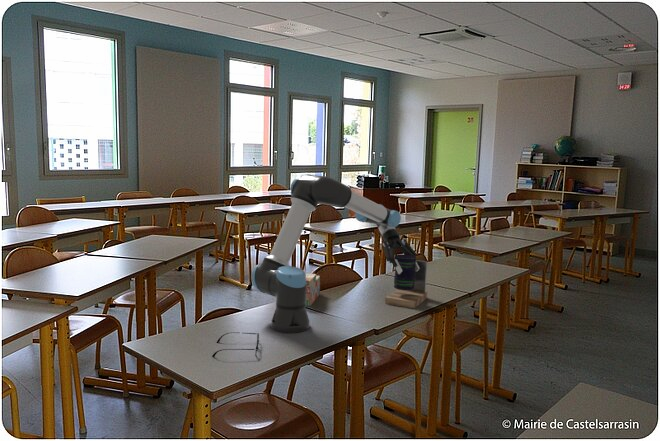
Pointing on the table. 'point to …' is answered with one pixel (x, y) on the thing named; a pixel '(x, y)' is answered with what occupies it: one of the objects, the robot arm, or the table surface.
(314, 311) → the table surface
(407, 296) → the slatted wooden block
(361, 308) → the table surface
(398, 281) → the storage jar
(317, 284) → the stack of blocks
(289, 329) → the robot arm
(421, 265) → the bookend
